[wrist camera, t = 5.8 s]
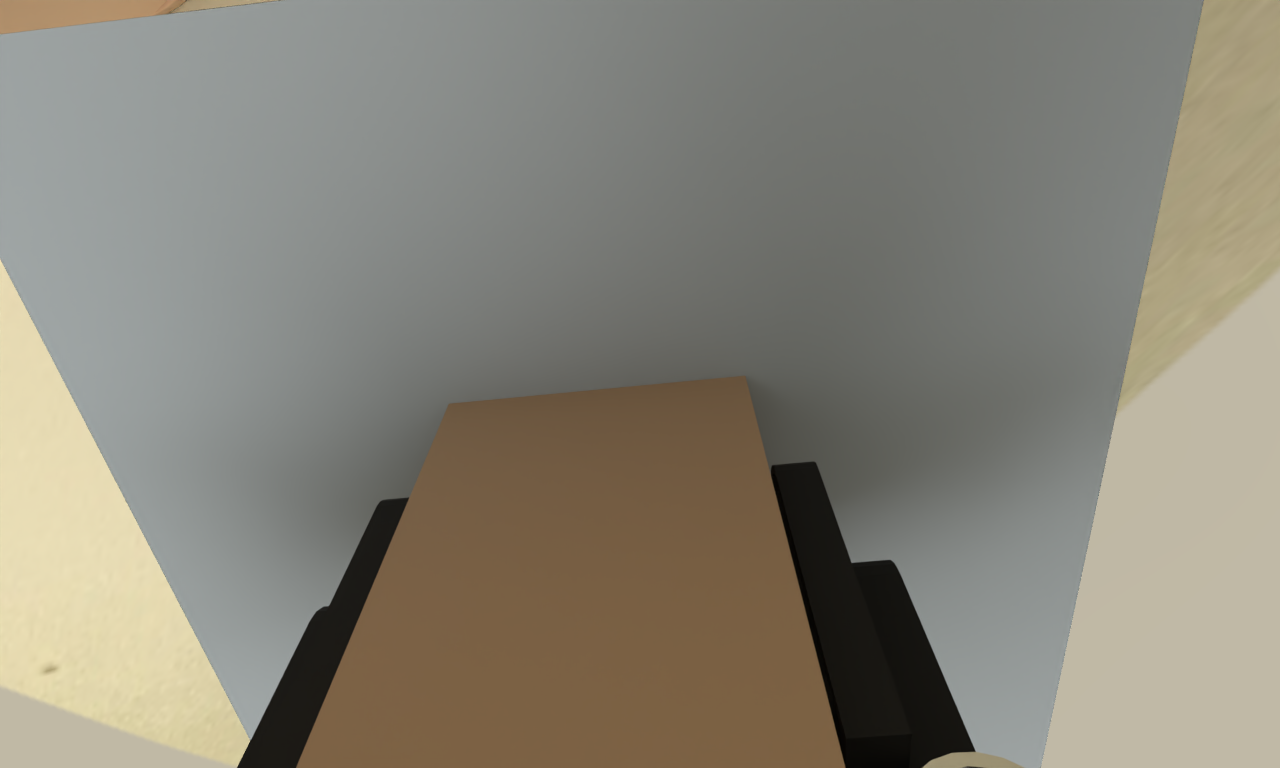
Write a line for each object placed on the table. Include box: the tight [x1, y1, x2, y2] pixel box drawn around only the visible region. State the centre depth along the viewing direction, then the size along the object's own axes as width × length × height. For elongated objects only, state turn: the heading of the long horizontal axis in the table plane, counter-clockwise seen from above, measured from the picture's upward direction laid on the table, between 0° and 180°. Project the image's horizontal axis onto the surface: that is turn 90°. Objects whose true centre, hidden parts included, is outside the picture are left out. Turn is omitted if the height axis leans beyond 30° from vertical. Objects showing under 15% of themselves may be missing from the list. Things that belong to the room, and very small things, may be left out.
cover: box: [0, 0, 1204, 768], centre depth 9 cm, size 14×14×8 cm
